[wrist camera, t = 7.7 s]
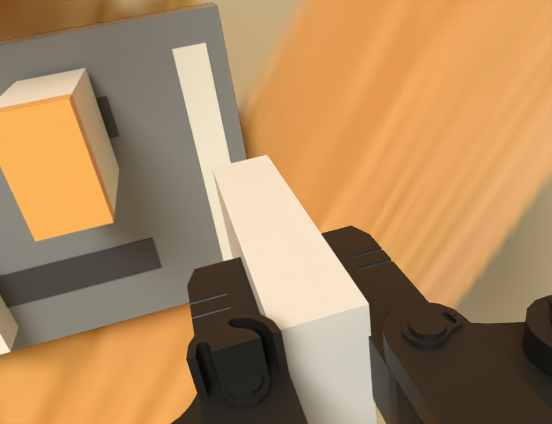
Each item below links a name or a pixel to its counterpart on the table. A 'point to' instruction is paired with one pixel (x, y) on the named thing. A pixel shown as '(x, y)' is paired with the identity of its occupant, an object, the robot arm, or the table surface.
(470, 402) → the robot arm
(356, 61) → the table surface
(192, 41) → the panel
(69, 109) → the handle
